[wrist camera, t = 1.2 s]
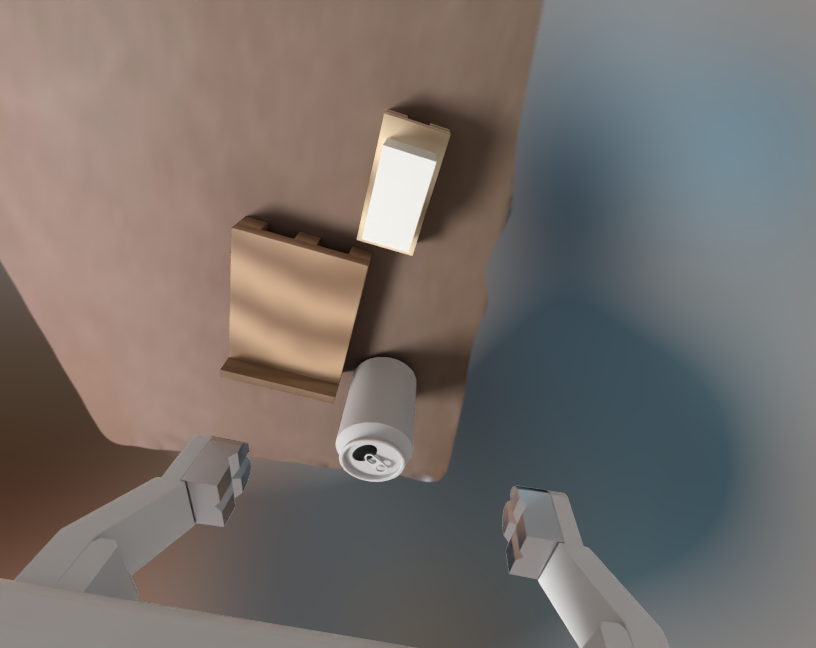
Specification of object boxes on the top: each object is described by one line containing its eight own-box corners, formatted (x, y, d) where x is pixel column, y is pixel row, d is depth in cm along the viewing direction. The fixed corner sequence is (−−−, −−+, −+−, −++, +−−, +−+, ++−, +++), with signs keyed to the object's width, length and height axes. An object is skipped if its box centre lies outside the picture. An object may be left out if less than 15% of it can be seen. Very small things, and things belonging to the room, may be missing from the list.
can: (382, 340, 43) (366, 425, 33) (430, 377, 45) (429, 465, 35) (341, 375, 46) (315, 462, 36) (388, 408, 49) (376, 497, 39)
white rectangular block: (387, 137, 28) (382, 144, 26) (436, 153, 29) (436, 161, 26) (367, 225, 32) (361, 239, 30) (410, 238, 33) (408, 252, 30)
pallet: (388, 109, 30) (384, 113, 28) (449, 129, 31) (450, 134, 28) (361, 227, 36) (356, 239, 33) (413, 242, 36) (412, 255, 34)
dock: (245, 216, 35) (220, 236, 31) (372, 252, 37) (364, 276, 33) (240, 347, 44) (220, 376, 40) (342, 372, 46) (333, 403, 41)
